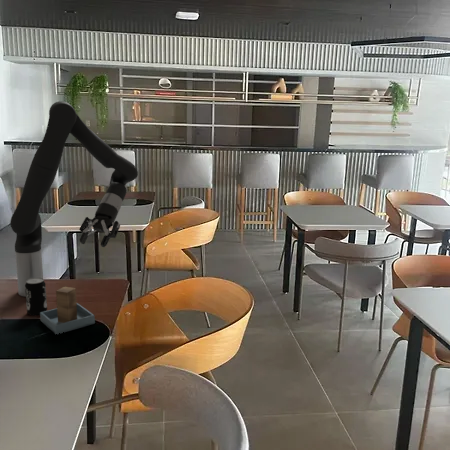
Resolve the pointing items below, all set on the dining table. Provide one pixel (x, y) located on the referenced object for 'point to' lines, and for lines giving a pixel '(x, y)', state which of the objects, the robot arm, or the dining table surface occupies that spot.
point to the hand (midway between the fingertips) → (92, 244)
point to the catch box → (57, 327)
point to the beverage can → (35, 296)
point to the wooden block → (66, 304)
